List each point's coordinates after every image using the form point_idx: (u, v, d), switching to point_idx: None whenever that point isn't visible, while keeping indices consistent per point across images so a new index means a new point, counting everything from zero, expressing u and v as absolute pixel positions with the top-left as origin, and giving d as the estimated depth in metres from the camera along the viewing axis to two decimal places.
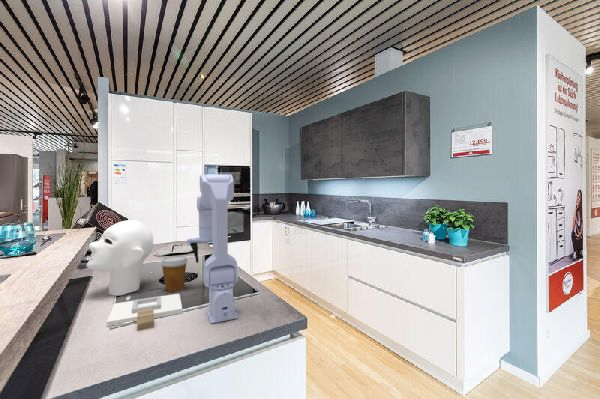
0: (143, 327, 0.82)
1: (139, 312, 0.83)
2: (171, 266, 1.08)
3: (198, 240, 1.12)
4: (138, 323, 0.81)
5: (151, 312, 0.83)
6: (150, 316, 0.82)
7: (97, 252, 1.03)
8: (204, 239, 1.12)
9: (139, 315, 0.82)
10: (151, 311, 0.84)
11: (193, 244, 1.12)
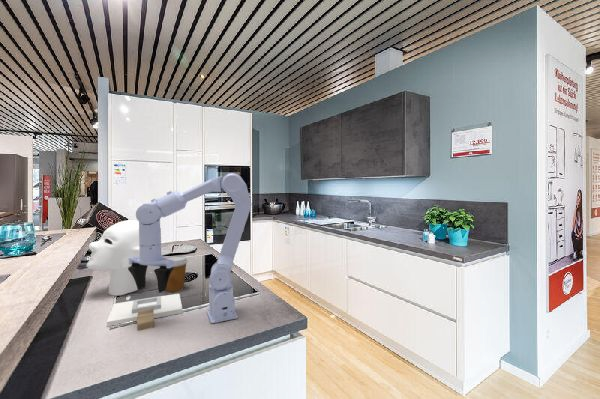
0: (143, 327, 0.82)
1: (139, 312, 0.83)
2: None
3: (136, 261, 0.84)
4: (138, 323, 0.81)
5: (151, 312, 0.83)
6: (150, 316, 0.82)
7: (97, 252, 1.03)
8: (139, 261, 0.83)
9: (139, 315, 0.82)
10: (151, 311, 0.84)
11: (134, 265, 0.86)
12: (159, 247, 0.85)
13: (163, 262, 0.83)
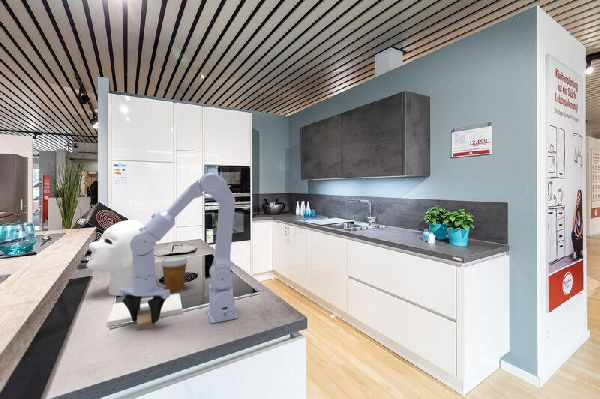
0: (143, 327, 0.82)
1: (139, 312, 0.83)
2: (171, 266, 1.08)
3: (129, 292, 0.82)
4: (138, 323, 0.81)
5: None
6: (150, 316, 0.82)
7: (97, 252, 1.03)
8: (134, 293, 0.81)
9: (139, 315, 0.82)
10: None
11: (126, 296, 0.83)
12: (154, 277, 0.83)
13: (159, 293, 0.81)
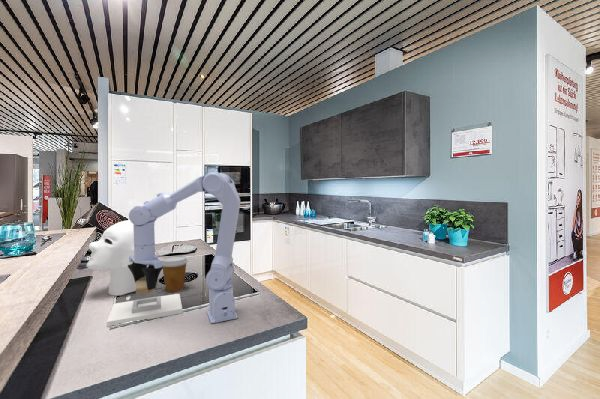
0: (141, 292, 0.89)
1: (141, 278, 0.91)
2: (171, 266, 1.08)
3: (132, 259, 0.90)
4: (136, 287, 0.89)
5: None
6: (146, 283, 0.89)
7: (97, 252, 1.03)
8: (134, 259, 0.89)
9: (138, 280, 0.89)
10: None
11: None
12: (151, 247, 0.89)
13: (152, 262, 0.87)
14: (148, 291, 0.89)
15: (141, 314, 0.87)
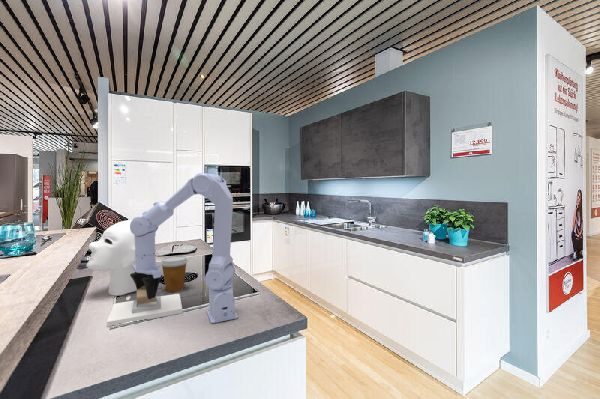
0: (141, 300, 0.91)
1: (142, 287, 0.94)
2: (171, 266, 1.08)
3: (134, 268, 0.93)
4: (137, 296, 0.91)
5: None
6: None
7: (97, 252, 1.03)
8: (135, 269, 0.91)
9: (139, 289, 0.92)
10: None
11: (135, 271, 0.95)
12: (151, 257, 0.91)
13: (151, 272, 0.89)
14: (148, 300, 0.91)
15: (141, 314, 0.87)
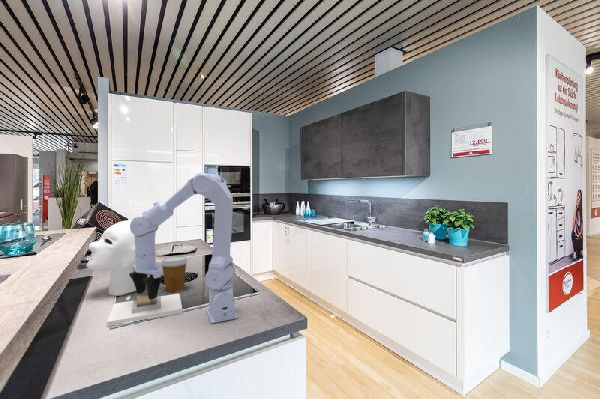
0: None
1: (143, 292, 0.94)
2: (171, 266, 1.08)
3: (134, 268, 0.93)
4: (138, 302, 0.91)
5: None
6: (147, 298, 0.91)
7: (97, 252, 1.03)
8: (135, 269, 0.91)
9: (139, 295, 0.92)
10: None
11: (135, 271, 0.95)
12: (151, 257, 0.91)
13: (151, 272, 0.89)
14: None
15: (141, 314, 0.87)
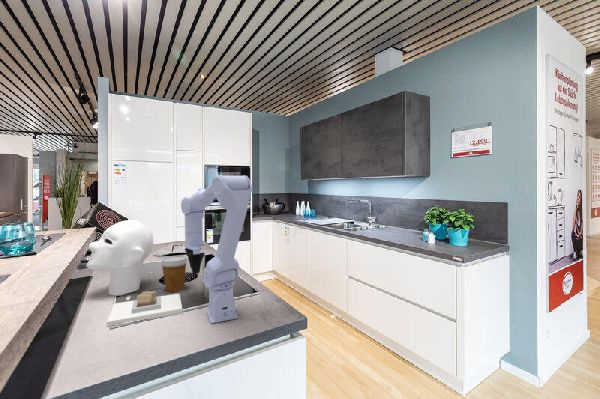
0: None
1: (143, 292, 0.94)
2: (171, 266, 1.08)
3: None
4: (138, 302, 0.91)
5: (150, 294, 0.93)
6: (147, 298, 0.91)
7: (97, 252, 1.03)
8: None
9: (139, 295, 0.92)
10: (151, 293, 0.93)
11: None
12: (196, 235, 0.99)
13: (192, 248, 0.96)
14: None
15: (141, 314, 0.87)
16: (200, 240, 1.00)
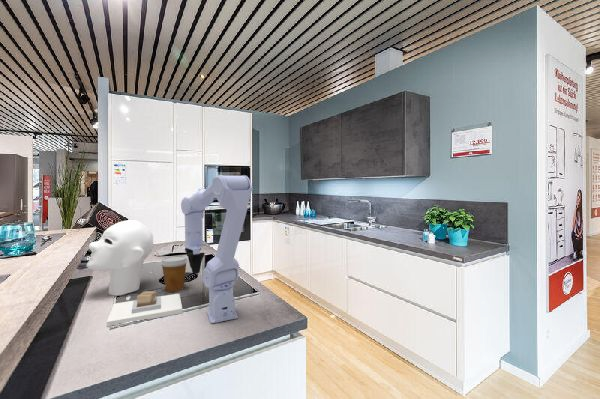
0: None
1: (143, 292, 0.94)
2: (171, 266, 1.08)
3: None
4: (138, 302, 0.91)
5: (150, 294, 0.93)
6: (147, 298, 0.91)
7: (97, 252, 1.03)
8: None
9: (139, 295, 0.92)
10: (151, 293, 0.93)
11: None
12: (196, 235, 0.99)
13: (192, 248, 0.96)
14: None
15: (141, 314, 0.87)
16: (200, 240, 1.00)
